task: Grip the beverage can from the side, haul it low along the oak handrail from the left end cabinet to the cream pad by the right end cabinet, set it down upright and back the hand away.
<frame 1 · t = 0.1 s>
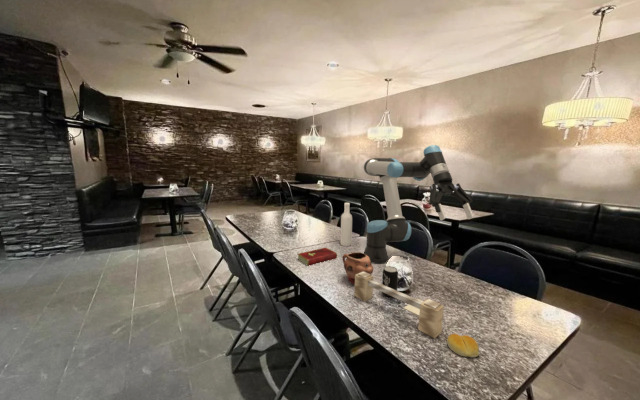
hand: (457, 218, 108), 36 cm above the table, tool tilted 35°, fingers open, 13 cm apart
handrail: (392, 312, 102), on the table
beverage can: (389, 294, 116), on the table
brown sculpted mug: (355, 281, 128), on the table
bottle: (345, 244, 183), on the table
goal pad: (423, 309, 104), on the table
bread roll: (462, 349, 83), on the table
hardcover book: (317, 259, 156), on the table
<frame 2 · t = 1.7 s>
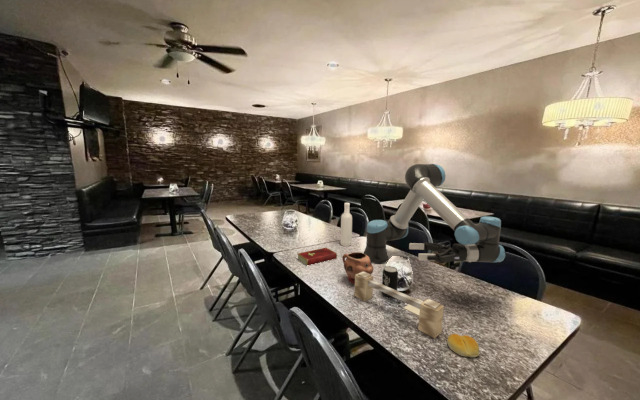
hand: (413, 251, 112), 20 cm above the table, tool horizontal, fingers open, 13 cm apart
nothing on the table moved.
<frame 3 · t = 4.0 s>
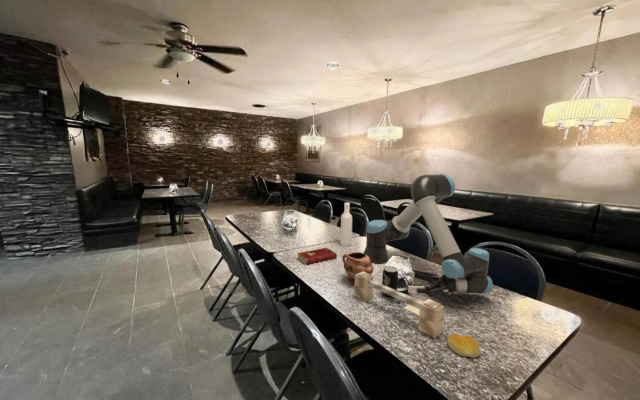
hand: (404, 281, 114), 6 cm above the table, tool horizontal, fingers open, 13 cm apart
nothing on the table moved.
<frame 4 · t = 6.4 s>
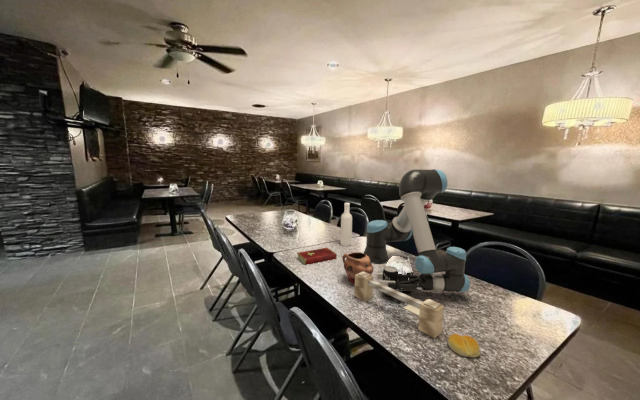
hand: (378, 279, 115), 7 cm above the table, tool horizontal, fingers closed on beverage can, 6 cm apart
beverage can: (389, 294, 116), on the table, touching gripper
everything else where it was.
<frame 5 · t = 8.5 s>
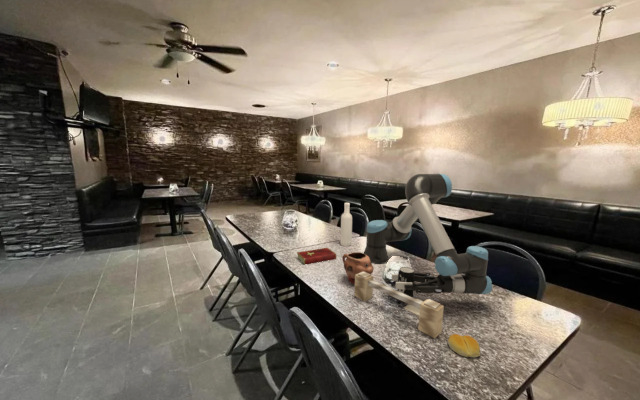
hand: (393, 281, 108), 9 cm above the table, tool horizontal, fingers closed on beverage can, 6 cm apart
beverage can: (405, 296, 109), point 3 cm above the table, touching gripper
when the fingers open (7 cm above the table, at t = 10.5 s): beverage can stays where it is, resting on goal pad.
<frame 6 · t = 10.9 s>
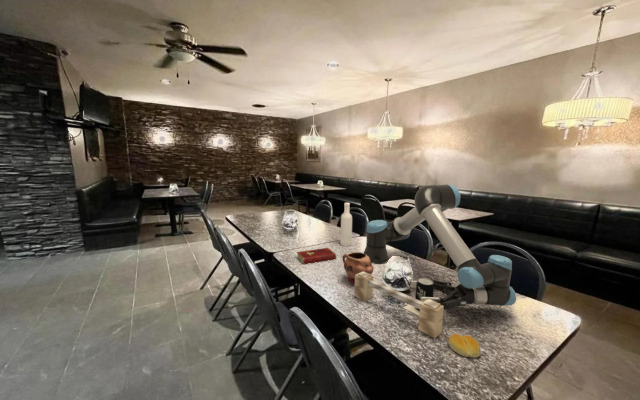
hand: (415, 291, 103), 7 cm above the table, tool horizontal, fingers open, 12 cm apart
beverage can: (423, 309, 104), resting on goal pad
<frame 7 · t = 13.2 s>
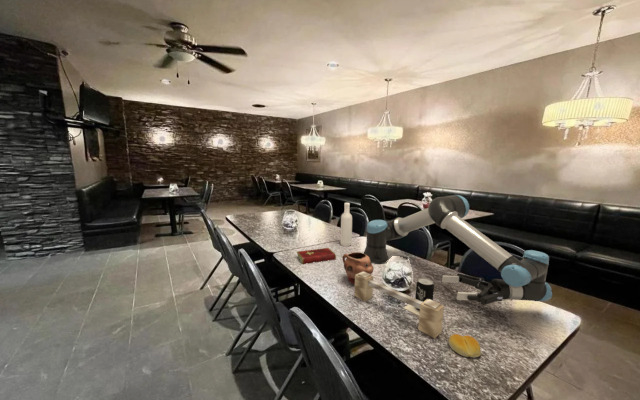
hand: (449, 286, 102), 10 cm above the table, tool horizontal, fingers open, 13 cm apart
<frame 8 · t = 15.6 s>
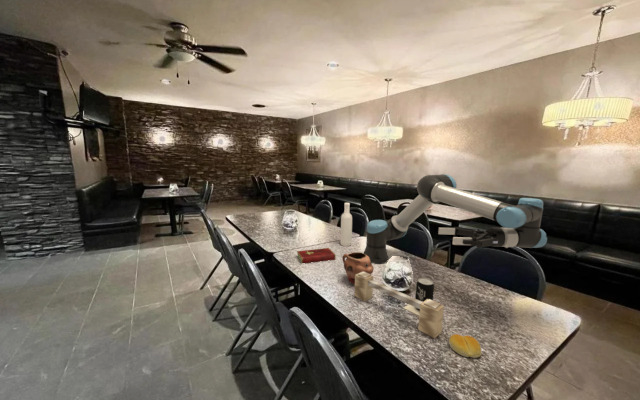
hand: (445, 235, 103), 30 cm above the table, tool horizontal, fingers open, 13 cm apart
at the end: beverage can inside the target area (0.5 cm from its centre), resting on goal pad; beverage can tilted 0°; the gripper is holding nothing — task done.
